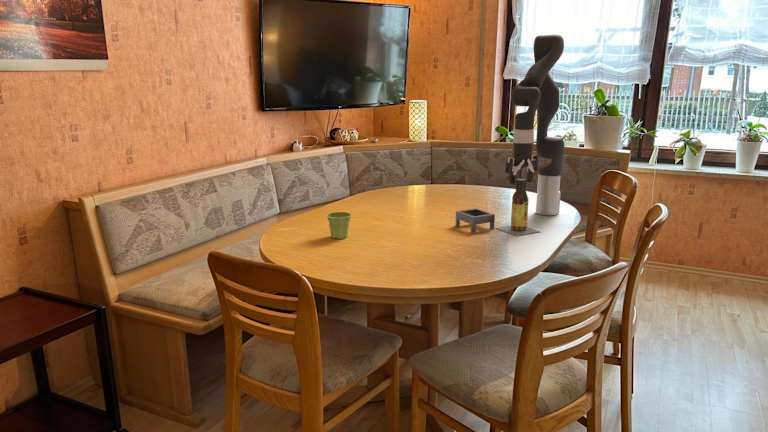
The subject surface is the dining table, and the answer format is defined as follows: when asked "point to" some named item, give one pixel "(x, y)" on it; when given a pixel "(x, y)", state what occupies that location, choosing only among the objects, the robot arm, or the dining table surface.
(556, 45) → the robot arm
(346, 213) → the plant pot
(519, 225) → the sauce bottle
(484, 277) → the dining table surface
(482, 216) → the grey square frame stand
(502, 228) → the slate mat
